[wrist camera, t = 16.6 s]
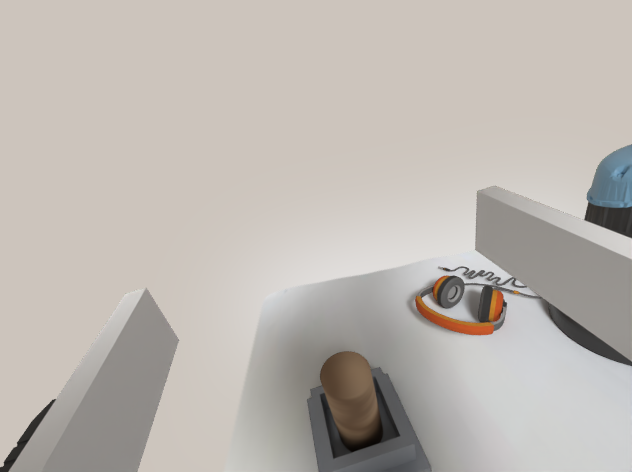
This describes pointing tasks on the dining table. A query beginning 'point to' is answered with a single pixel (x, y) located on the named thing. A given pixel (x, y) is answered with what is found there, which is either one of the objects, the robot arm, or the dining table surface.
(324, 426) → the grey square tray
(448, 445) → the dining table surface
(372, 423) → the walnut cylinder
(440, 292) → the headphones
